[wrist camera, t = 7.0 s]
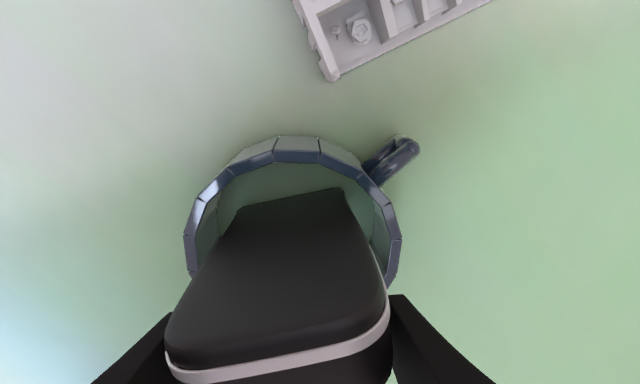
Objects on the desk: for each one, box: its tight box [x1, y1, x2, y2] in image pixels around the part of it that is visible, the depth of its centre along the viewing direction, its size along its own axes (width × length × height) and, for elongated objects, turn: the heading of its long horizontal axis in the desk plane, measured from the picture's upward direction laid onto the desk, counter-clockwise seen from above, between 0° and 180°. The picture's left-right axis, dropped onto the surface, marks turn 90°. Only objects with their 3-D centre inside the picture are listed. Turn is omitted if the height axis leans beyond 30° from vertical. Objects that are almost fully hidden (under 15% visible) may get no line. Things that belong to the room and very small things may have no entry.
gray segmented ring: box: [183, 134, 420, 289], centre depth 17 cm, size 14×11×4 cm
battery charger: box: [164, 188, 393, 384], centre depth 13 cm, size 7×4×11 cm, turn 102°
